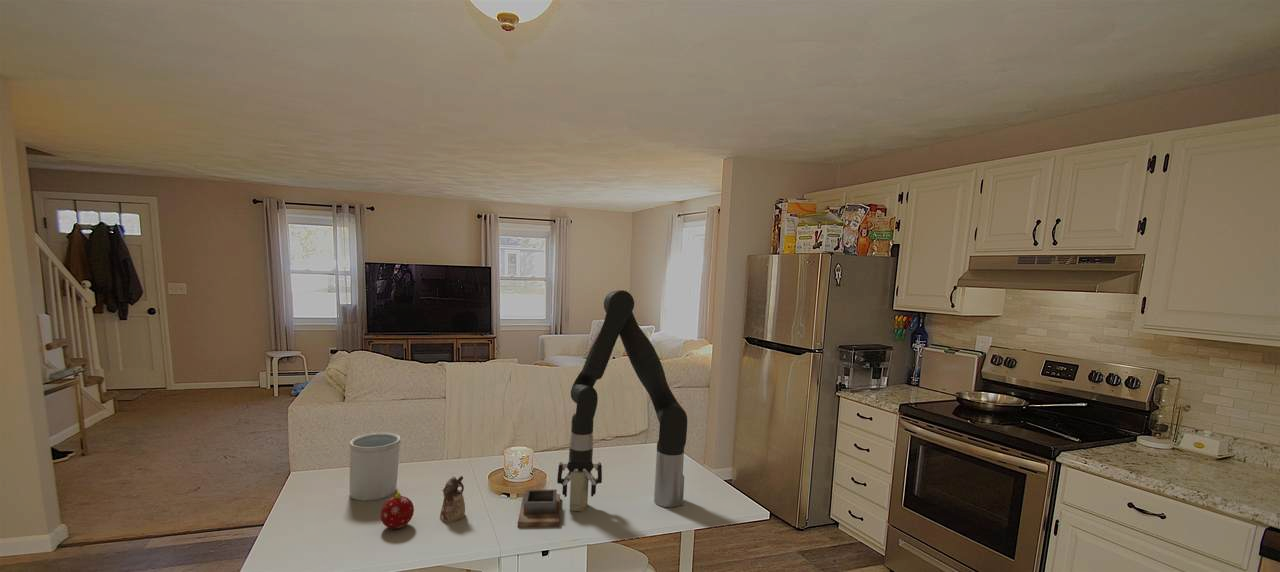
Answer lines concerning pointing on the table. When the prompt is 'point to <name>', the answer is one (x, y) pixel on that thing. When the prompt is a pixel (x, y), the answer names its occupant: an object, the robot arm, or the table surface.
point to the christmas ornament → (397, 512)
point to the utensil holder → (374, 465)
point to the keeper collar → (540, 502)
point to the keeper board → (539, 517)
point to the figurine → (453, 501)
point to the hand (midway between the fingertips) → (578, 495)
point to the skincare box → (578, 491)
